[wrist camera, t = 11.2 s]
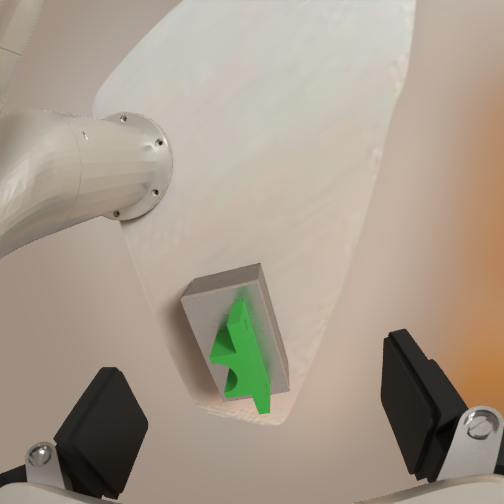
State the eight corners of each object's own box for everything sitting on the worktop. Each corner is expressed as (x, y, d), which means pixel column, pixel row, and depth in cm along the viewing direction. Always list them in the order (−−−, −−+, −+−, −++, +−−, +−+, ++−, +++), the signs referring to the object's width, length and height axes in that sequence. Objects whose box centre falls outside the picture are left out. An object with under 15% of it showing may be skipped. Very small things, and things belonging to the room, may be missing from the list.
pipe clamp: (208, 307, 30) (198, 329, 26) (244, 299, 30) (239, 322, 25) (238, 390, 33) (234, 418, 29) (270, 386, 33) (270, 413, 28)
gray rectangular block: (194, 278, 36) (180, 300, 30) (260, 262, 35) (257, 282, 29) (229, 372, 39) (223, 401, 34) (287, 361, 38) (289, 391, 33)
